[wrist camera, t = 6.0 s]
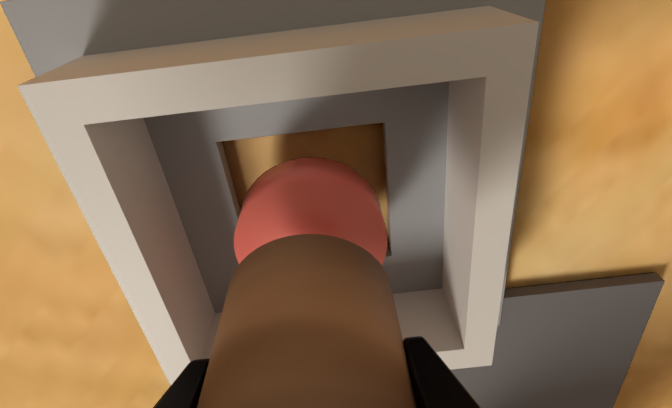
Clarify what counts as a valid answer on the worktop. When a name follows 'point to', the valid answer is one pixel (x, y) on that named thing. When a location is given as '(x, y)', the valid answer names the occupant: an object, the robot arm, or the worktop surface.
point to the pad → (564, 343)
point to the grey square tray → (283, 118)
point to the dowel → (308, 331)
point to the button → (311, 207)
